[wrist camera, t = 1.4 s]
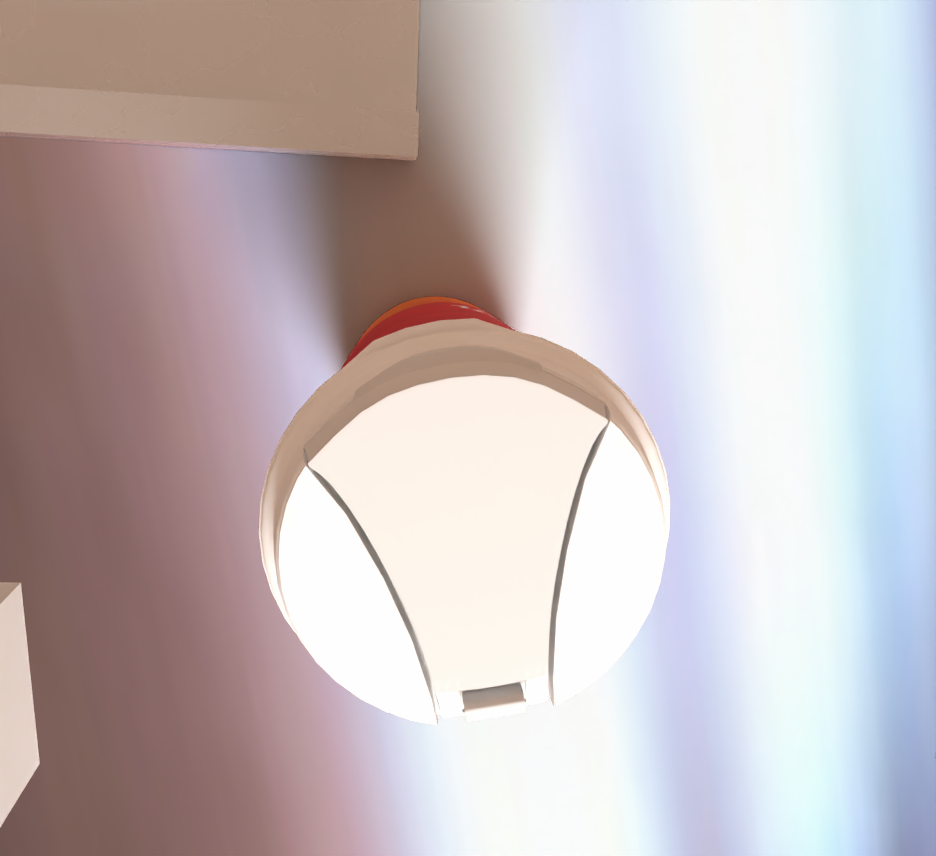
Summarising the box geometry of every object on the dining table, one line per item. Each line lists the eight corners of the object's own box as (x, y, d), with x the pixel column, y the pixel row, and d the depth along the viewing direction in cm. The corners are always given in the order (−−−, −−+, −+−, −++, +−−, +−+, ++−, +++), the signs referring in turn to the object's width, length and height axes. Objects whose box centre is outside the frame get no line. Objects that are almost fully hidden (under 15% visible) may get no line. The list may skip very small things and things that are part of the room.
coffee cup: (559, 470, 31) (703, 715, 17) (339, 503, 31) (293, 783, 16) (536, 242, 29) (682, 300, 14) (297, 274, 28) (200, 368, 14)
